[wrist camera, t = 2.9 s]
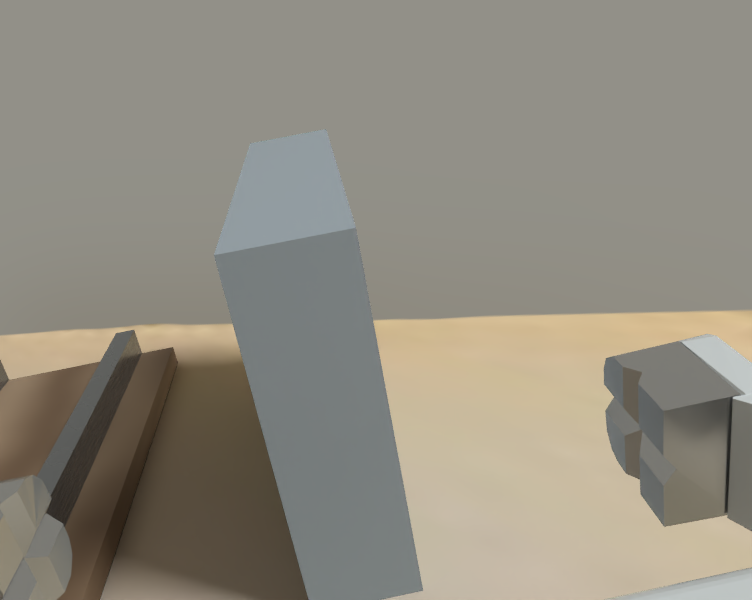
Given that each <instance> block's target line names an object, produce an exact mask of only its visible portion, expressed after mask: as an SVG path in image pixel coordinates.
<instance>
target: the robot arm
mask: <svg viewBox="0 0 752 600" xmlns="http://www.w3.org/2000/svg"><path fill="white" fill-rule="evenodd" d="M604 385H605V386H606V387H607V388H608V389H609V391H610V392H611V393H612V394H613V396H614V398H613V400H612V401H611V403H610V404H609V406H608V408H607V409H606V423H607V432H608V436H609V440H610V443H611V447H612V450H613V452H614V454H615V456H616V459H617V461H618V462H619V464H620V465H621V467H622V468H623V470H624V471H625V473H626V474H628V475H631V476H633V477H635V478H638V479H640V490H641V495H642V497H643V498H644V499H645V501H646V502H647V504H648V505H649V506H650V508H651V509H652V510H653V512H654V513H655V515H656V516H657V517H658V519H659V520H660V521H661V523H662V524H663V526H664V527H665V526H671V525H676V524H681V523H687V522H692V521H698V520H703V519H708V518H714V517H719V516H725V515H728V517H727V518H729V519H730V520H732V521H734V522H736V523H738V524H740V525H741V526H743V527H745V528H747V529H749V530H750V531H752V363H751V362H750V361H748V360H747V359H746V358H744V357H743V356H742V355H741V354H739V353H738V352H737V351H735V350H734V349H733V348H731V347H730V346H729V345H728V344H726V343H725V342H724V341H722V340H721V339H720V338H718V337H717V336H715V335H710V334H705V335H701V336H697V337H693V338H689V339H685V340H681V341H677V342H673V343H669V344H664V345H660V346H656V347H652V348H647V349H643V350H639V351H634V352H630V353H626V354H621V355H617V356H613V357H609V358H606V361H605V366H604ZM51 499H52V498H51V496H50V494H49V492H48V490H47V488H46V486H45V484H44V482H43V480H42V479H40V478H38V477H36V476H34V475H30V476H24V477H19V478H14V479H8V480H3V481H0V600H57V599H58V598H59V597H60V596H61V595H62V594H63V593H64V592H65V590H66V588H67V585H68V582H69V579H70V577H71V569H72V549H71V545H70V540H69V536H68V534H67V532H66V529H65V527H64V525H63V523H61V522H60V521H58V520H56V519H55V518H53V517H52V516H50V515H48V514H47V510H48V508H49V505H50V502H51ZM604 600H752V568H747V569H742V570H738V571H733V572H729V573H724V574H719V575H715V576H710V577H706V578H701V579H696V580H692V581H687V582H682V583H678V584H673V585H669V586H664V587H659V588H655V589H650V590H646V591H641V592H636V593H632V594H627V595H623V596H618V597H613V598H609V599H604Z"/></svg>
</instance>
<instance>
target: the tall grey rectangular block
mask: <svg viewBox="0 0 752 600" xmlns="http://www.w3.org/2000/svg"><path fill="white" fill-rule="evenodd" d="M214 257H215V261H216V264H217V268H218V271H219V275H220V279H221V283H222V286H223V290H224V293H225V297H226V301H227V305H228V308H229V312H230V316H231V319H232V323H233V326H234V330H235V334H236V337H237V341H238V345H239V348H240V352H241V356H242V359H243V363H244V367H245V370H246V374H247V377H248V381H249V385H250V388H251V392H252V396H253V399H254V403H255V407H256V410H257V414H258V418H259V421H260V425H261V429H262V432H263V436H264V439H265V443H266V447H267V450H268V454H269V458H270V461H271V465H272V469H273V472H274V476H275V480H276V483H277V487H278V491H279V494H280V498H281V501H282V505H283V509H284V512H285V516H286V520H287V523H288V527H289V531H290V534H291V538H292V542H293V545H294V549H295V552H296V556H297V560H298V563H299V567H300V571H301V574H302V578H303V582H304V585H305V589H306V593H307V596H308V600H382V599H386V598H391V597H395V596H400V595H405V594H409V593H414V592H419V591H423V588H422V582H421V577H420V571H419V566H418V561H417V555H416V550H415V544H414V539H413V534H412V528H411V523H410V517H409V512H408V507H407V501H406V496H405V490H404V485H403V480H402V474H401V469H400V463H399V458H398V453H397V447H396V442H395V436H394V431H393V426H392V420H391V415H390V409H389V404H388V399H387V393H386V388H385V382H384V377H383V372H382V366H381V361H380V355H379V350H378V345H377V339H376V334H375V328H374V323H373V318H372V313H371V307H370V301H369V296H368V291H367V285H366V280H365V274H364V269H363V264H362V259H361V253H360V247H359V242H358V237H357V232H356V227H355V224H354V220H353V217H352V214H351V210H350V207H349V204H348V200H347V197H346V194H345V190H344V187H343V184H342V180H341V177H340V174H339V171H338V167H337V164H336V161H335V157H334V154H333V151H332V147H331V144H330V141H329V138H328V134H327V131H326V129H325V130H320V131H314V132H309V133H304V134H298V135H293V136H288V137H283V138H277V139H272V140H266V141H261V142H256V143H250V146H249V149H248V152H247V156H246V158H245V161H244V165H243V168H242V171H241V174H240V177H239V180H238V183H237V186H236V189H235V192H234V195H233V198H232V201H231V204H230V208H229V211H228V214H227V217H226V220H225V223H224V226H223V229H222V232H221V235H220V238H219V241H218V244H217V247H216V250H215V254H214Z"/></svg>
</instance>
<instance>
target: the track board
mask: <svg viewBox="0 0 752 600" xmlns="http://www.w3.org/2000/svg"><path fill="white" fill-rule="evenodd" d="M177 363H178V362H177V359H176V356H175V352H174V349H173V347H172V348H167V349H162V350H157V351H152V352H147V353H142V352H141V349H140V346H139V343H138V340H137V337H136V334H135V331H134V330H131V331H125V332H120V333H116V335H115V336H114V338H113V340H112V342H111V344H110V345H109V347H108V349H107V351H106V353H105V354H104V356H103V358H102V360H101V362H97V363H92V364H87V365H82V366H77V367H72V368H67V369H62V370H57V371H52V372H47V373H42V374H37V375H32V376H27V377H22V378H17V379H12V380H9V379H8V376H7V374H6V372H5V370H4V367H3V365H2V363H1V360H0V481H3V480H8V479H14V478H19V477H24V476H30V475H34V476H36V477H38V478H40V479H42V480H43V482H44V484H45V486H46V488H47V490H48V492H49V494H50V496H51V498H52V499H51V502H50V505H49V508H48V510H47V514H48V515H50V516H52V517H53V518H55V519H56V520H58V521H60V522H61V523H63V525H64V527H65V529H66V532H67V534H68V536H69V540H70V545H71V549H72V569H71V577H70V579H69V582H68V585H67V588H66V590H65V592H64V593H63V594H62V595H61V596H60V597H59V598H58V599H57V600H100V597H101V594H102V591H103V588H104V585H105V582H106V579H107V576H108V573H109V570H110V567H111V564H112V561H113V558H114V555H115V552H116V549H117V546H118V543H119V540H120V536H121V533H122V530H123V527H124V524H125V521H126V518H127V515H128V512H129V509H130V506H131V503H132V500H133V497H134V494H135V491H136V488H137V485H138V482H139V479H140V476H141V473H142V470H143V467H144V464H145V461H146V458H147V455H148V452H149V448H150V445H151V442H152V439H153V436H154V433H155V430H156V427H157V424H158V421H159V418H160V415H161V412H162V409H163V406H164V403H165V400H166V397H167V394H168V391H169V388H170V385H171V382H172V379H173V376H174V373H175V370H176V367H177Z"/></svg>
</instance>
